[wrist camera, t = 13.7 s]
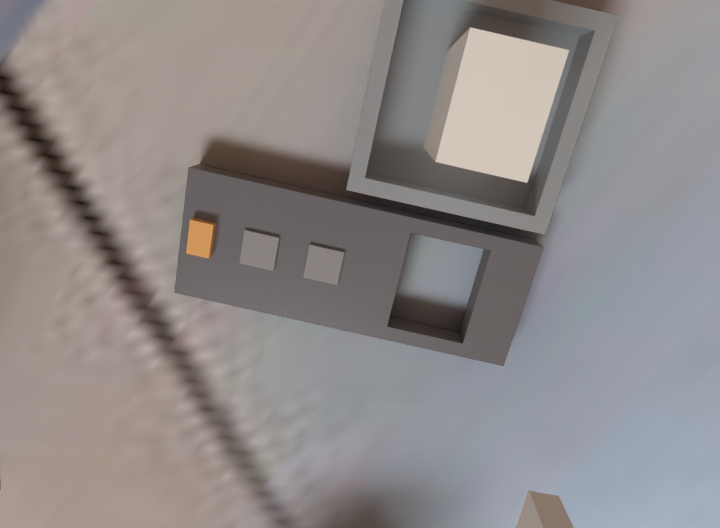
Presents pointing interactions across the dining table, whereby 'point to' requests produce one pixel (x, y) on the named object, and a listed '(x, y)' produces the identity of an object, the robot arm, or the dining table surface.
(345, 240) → the power strip
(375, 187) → the tray
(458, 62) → the block
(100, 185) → the dining table surface
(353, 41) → the dining table surface
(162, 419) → the dining table surface
